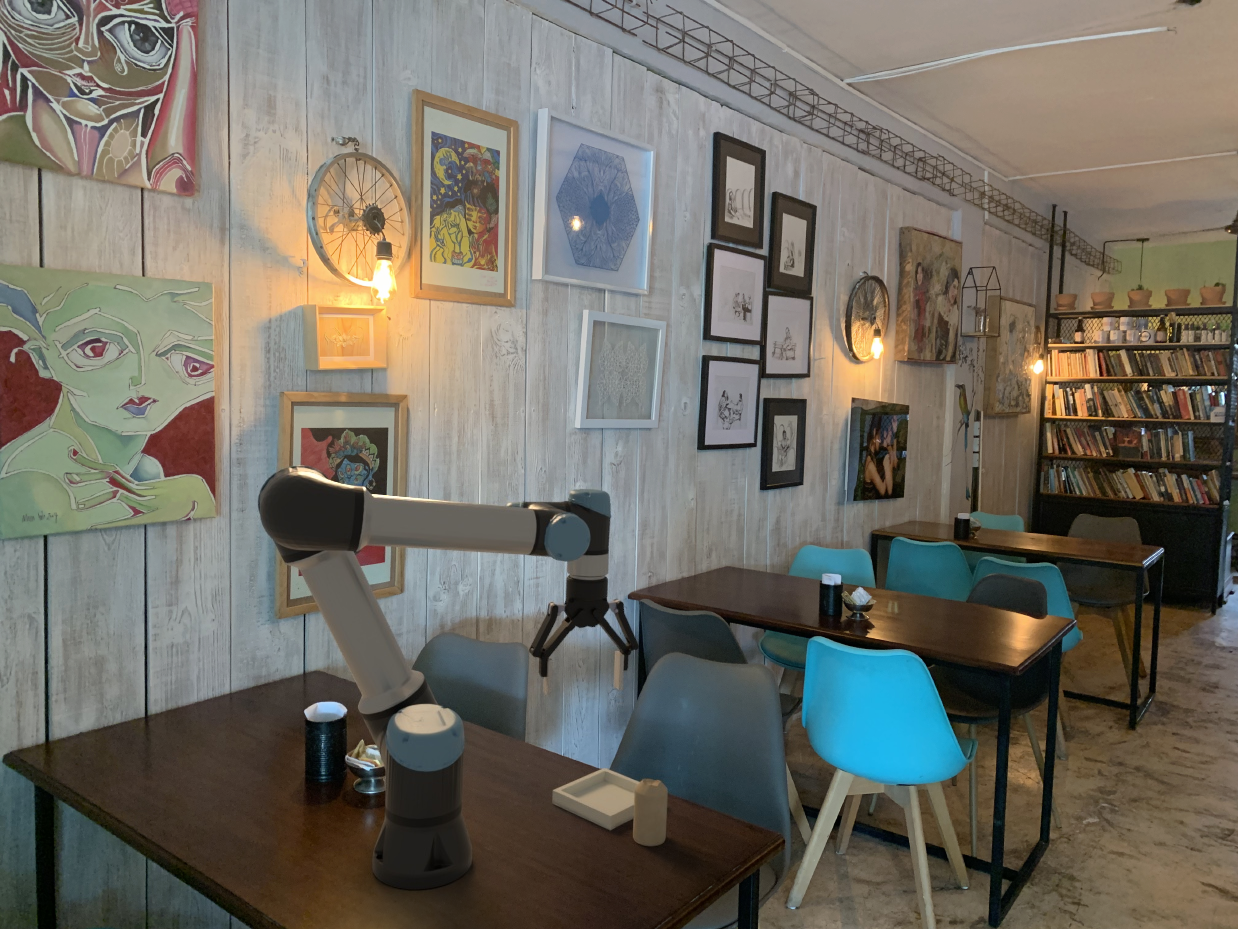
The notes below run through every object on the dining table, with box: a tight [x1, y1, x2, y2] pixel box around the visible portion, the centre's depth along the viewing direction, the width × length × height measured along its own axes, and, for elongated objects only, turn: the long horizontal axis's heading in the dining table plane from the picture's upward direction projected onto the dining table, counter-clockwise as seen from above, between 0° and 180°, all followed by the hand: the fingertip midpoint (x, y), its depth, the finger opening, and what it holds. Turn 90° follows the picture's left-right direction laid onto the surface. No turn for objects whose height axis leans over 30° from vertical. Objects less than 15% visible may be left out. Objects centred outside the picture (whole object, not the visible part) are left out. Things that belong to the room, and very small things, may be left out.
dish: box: [551, 767, 641, 831], centre depth 160 cm, size 14×14×2 cm
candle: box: [632, 778, 669, 847], centre depth 148 cm, size 6×6×10 cm
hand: (583, 691), depth 160 cm, fingers open, 13 cm apart
